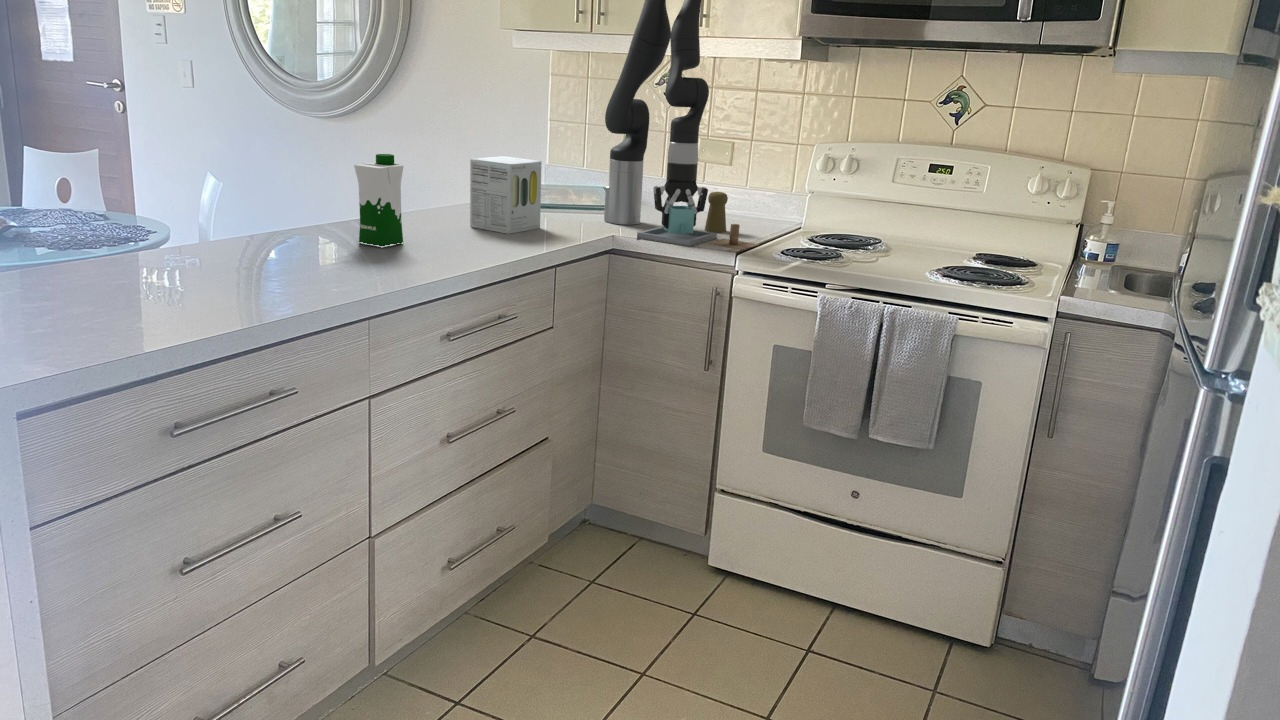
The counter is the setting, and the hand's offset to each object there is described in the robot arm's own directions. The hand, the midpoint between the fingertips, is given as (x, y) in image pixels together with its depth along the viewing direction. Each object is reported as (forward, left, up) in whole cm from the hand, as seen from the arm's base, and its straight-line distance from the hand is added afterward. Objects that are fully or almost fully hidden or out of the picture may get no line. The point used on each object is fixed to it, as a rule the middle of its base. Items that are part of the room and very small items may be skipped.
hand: (678, 227), depth 238 cm
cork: (+2, +18, -4) cm, 18 cm away
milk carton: (-47, -56, -4) cm, 73 cm away
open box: (0, 0, -1) cm, 1 cm away
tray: (0, 0, -3) cm, 3 cm away
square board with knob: (+14, +4, -3) cm, 15 cm away
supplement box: (-41, -18, -4) cm, 45 cm away
